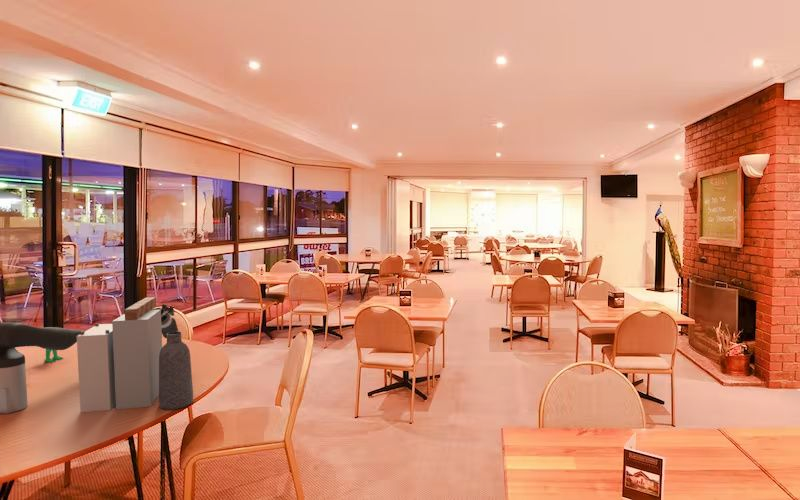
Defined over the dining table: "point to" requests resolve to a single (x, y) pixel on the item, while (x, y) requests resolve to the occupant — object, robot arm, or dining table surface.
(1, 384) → the robot arm
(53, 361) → the toy
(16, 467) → the dining table surface
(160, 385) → the vase
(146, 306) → the batten
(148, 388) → the stand
